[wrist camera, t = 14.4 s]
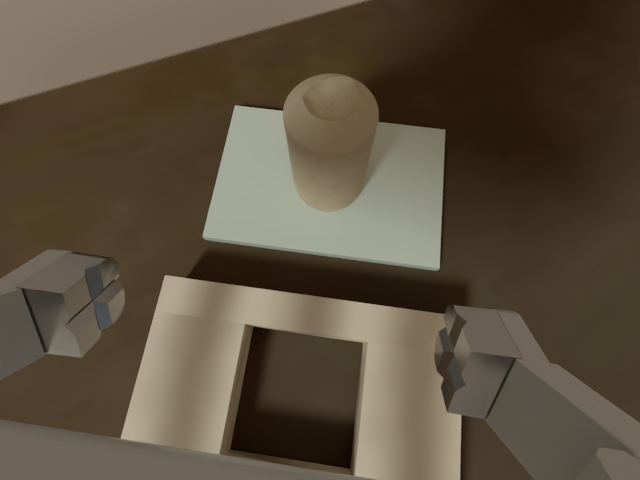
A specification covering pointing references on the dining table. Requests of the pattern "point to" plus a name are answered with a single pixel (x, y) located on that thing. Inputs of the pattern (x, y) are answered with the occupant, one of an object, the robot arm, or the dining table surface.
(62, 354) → the robot arm
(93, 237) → the dining table surface
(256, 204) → the sage mat
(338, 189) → the candle
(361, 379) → the socket block
